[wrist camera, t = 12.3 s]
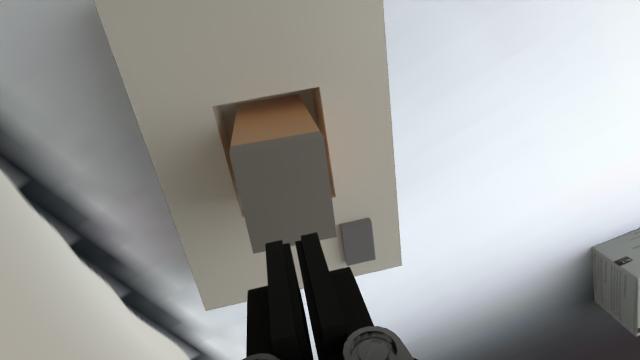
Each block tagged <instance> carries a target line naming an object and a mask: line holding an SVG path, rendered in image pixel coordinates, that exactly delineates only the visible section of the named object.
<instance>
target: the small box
mask: <svg viewBox="0 0 640 360" xmlns="http://www.w3.org/2000/svg"><path fill="white" fill-rule="evenodd" d="M592 261H593V281H594V301H595V302H596V303H597V304H598V305H600V306H601V307H602V308H603V309H604V310H606V311H607V312H608V313H609V314H610V315H611V316H613V317H614V318H615V319H616V320H617V321H619V322H620V323H621V324H622V325H623V326H624V327H625V328H627V329H628V330H629V331H630V332H631V333H632V334H633V335H635V336H639V335H640V228H639V229H637V230H634V231H632V232H629V233H627V234H624V235H622V236H619V237H617V238H614V239H611V240H609V241H606V242H604V243H601V244H598V245H596V246H593V247H592Z"/></svg>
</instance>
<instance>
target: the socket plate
mask: <svg viewBox="0 0 640 360" xmlns="http://www.w3.org/2000/svg"><path fill="white" fill-rule="evenodd" d="M94 3H95V6H96V8H97V11H98V14H99V17H100V19H101V22H102V25H103V28H104V30H105V33H106V36H107V39H108V42H109V44H110V47H111V50H112V53H113V55H114V58H115V61H116V64H117V66H118V69H119V72H120V75H121V77H122V80H123V83H124V86H125V89H126V91H127V94H128V97H129V100H130V102H131V105H132V108H133V111H134V113H135V116H136V119H137V122H138V125H139V127H140V130H141V133H142V136H143V138H144V141H145V144H146V147H147V149H148V152H149V155H150V158H151V160H152V163H153V166H154V169H155V172H156V174H157V177H158V180H159V183H160V185H161V188H162V191H163V194H164V196H165V199H166V202H167V205H168V207H169V210H170V213H171V216H172V219H173V221H174V224H175V227H176V230H177V232H178V235H179V238H180V241H181V243H182V246H183V249H184V252H185V254H186V257H187V260H188V263H189V266H190V268H191V271H192V274H193V277H194V279H195V282H196V285H197V288H198V290H199V293H200V296H201V299H202V302H203V304H204V307H205V310H206V311H207V310H212V309H216V308H220V307H225V306H229V305H233V304H238V303H242V302H246V301H247V294H248V290H250V289H255V288H259V287H263V286H268V281H267V264H266V251H265V252H260V253H255V254H253V251H252V246H251V242H250V238H249V234H248V230H247V226H246V222H245V218H244V213H243V209H242V205H241V201H240V197H239V193H238V189H237V184H236V180H235V176H234V172H233V168H232V164H231V160H230V156H229V152H230V146H231V140H232V134H233V128H234V122H235V116H236V111H237V105H238V104H240V103H246V102H252V101H258V100H264V99H271V98H277V97H283V96H289V95H295V94H298V95H299V97H300V98H301V100H302V102H303V103H304V105H305V107H306V108H307V110H308V112H309V113H310V115H311V117H312V118H313V120H314V122H315V123H316V125H317V127H318V128H319V130H320V131H321V133H322V135H323V136H324V141H325V149H326V156H327V164H328V172H329V180H330V188H331V195H332V203H333V211H334V219H335V227H336V235H337V237H334V238H329V239H324V240H320V243H321V247H322V250H323V253H324V256H325V260H326V263H327V266H328V269H329V271H332V270H337V269H341V268H345V267H350V268H351V270H352V273H353V275H354V276H358V275H363V274H367V273H371V272H376V271H380V270H384V269H389V268H393V267H397V266H402V261H401V247H400V233H399V219H398V205H397V191H396V177H395V163H394V149H393V135H392V121H391V107H390V93H389V79H388V65H387V51H386V37H385V23H384V9H383V0H94ZM290 247H291V251H292V256H293V261H294V265H295V270H296V274H297V279H298V283H299V288H300V289H302V288H304V285H303V280H302V275H301V270H300V265H299V260H298V255H297V250H296V245H294V246H290Z"/></svg>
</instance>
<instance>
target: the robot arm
mask: <svg viewBox="0 0 640 360" xmlns="http://www.w3.org/2000/svg"><path fill="white" fill-rule="evenodd" d="M295 245H296V250H297V255H298V260H299V265H300V270H301V275H302V280H303V285H304V290H305V296H306V301H307V306H308V311H309V316H310V321H311V326H312V331H313V336H314V340H315V345H316V350H317V355H318V359H319V360H417V359H415V358H413V357H412V355H411V354H410V353H409V351H408V350H407V348H406V347H405V345H404V344H403V342H402V341H401V339H400V338H399V337H398V336H397V335H396V334H395V333H394V332H392V331H390V330H389V329H387V328H383V327H379V326H374V325H373V323H372V320H371V318H370V315H369V313H368V310H367V308H366V305H365V303H364V300H363V298H362V295H361V293H360V290H359V288H358V285H357V283H356V280H355V278H354V275H353V273H352V270H351V268H350V267H345V268H341V269H337V270H332V271H329V269H328V266H327V263H326V260H325V256H324V253H323V250H322V247H321V243H320V240H319V237H318V234H317V232H315V233H311V234H306V235H301V240H300V241H295ZM265 248H266V264H267V281H268V286H263V287H259V288H255V289H250V290H248V294H247V357H246V358H245V359H243V360H313V354H312V349H311V343H310V338H309V333H308V327H307V322H306V316H305V311H304V306H303V302H302V297H301V293H300V288H299V283H298V279H297V274H296V270H295V265H294V261H293V256H292V251H291V247H290V243H286V244H283V241H282V240H279V241H274V242H270V243H266V244H265Z"/></svg>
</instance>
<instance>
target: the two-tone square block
mask: <svg viewBox="0 0 640 360" xmlns="http://www.w3.org/2000/svg"><path fill="white" fill-rule="evenodd" d="M229 156H230V160H231V164H232V168H233V172H234V176H235V180H236V184H237V189H238V193H239V197H240V201H241V205H242V209H243V213H244V218H245V222H246V226H247V230H248V234H249V238H250V242H251V246H252V251H253V254H255V253H260V252H265V251H266V248H265V244H266V243H270V242H274V241H279V240H282V241H283V244H286V243H290V246H294V245H295V241H300V240H301V235H306V234H311V233H315V232H317V234H318V237H319V240H324V239H329V238H334V237H337V235H336V227H335V219H334V211H333V203H332V195H331V188H330V180H329V172H328V164H327V156H326V149H325V141H324V136H323V135H322V133H321V131H320V130H319V128H318V127H317V125H316V123H315V122H314V120H313V118H312V117H311V115H310V113H309V112H308V110H307V108H306V107H305V105H304V103H303V102H302V100H301V98H300V97H299V95H298V94H295V95H289V96H283V97H277V98H271V99H264V100H258V101H252V102H246V103H240V104H238V105H237V111H236V116H235V122H234V128H233V134H232V140H231V146H230V152H229Z"/></svg>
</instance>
